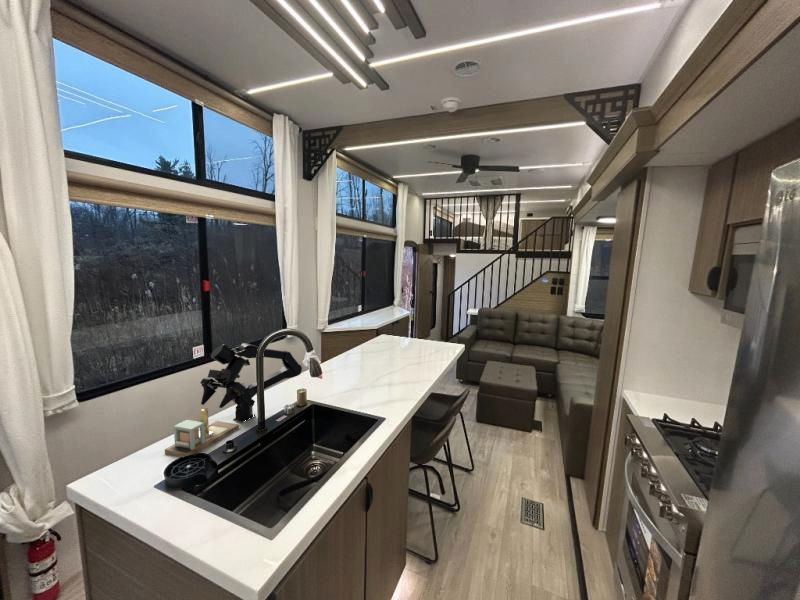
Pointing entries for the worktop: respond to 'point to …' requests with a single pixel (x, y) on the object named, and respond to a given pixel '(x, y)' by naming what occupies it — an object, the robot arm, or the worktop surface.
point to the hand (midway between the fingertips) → (211, 406)
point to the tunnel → (190, 431)
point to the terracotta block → (186, 437)
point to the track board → (219, 432)
